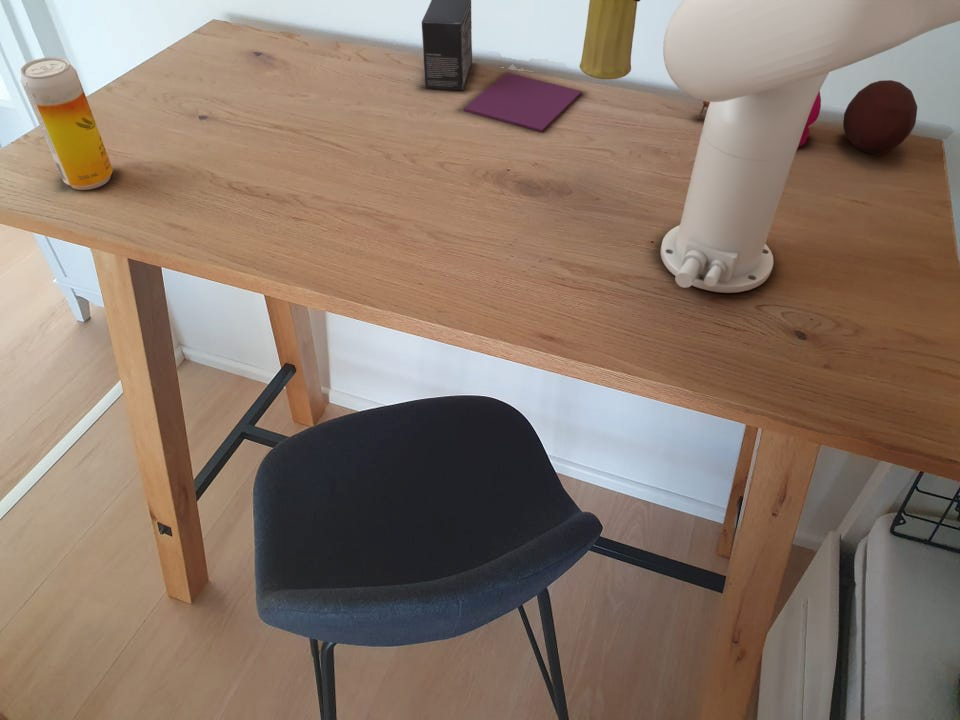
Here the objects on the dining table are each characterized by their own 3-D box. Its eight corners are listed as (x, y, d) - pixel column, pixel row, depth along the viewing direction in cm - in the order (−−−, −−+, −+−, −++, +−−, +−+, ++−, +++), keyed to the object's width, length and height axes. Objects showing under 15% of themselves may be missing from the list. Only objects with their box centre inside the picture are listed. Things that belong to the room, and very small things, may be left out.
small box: (434, 60, 127) (431, -7, 119) (473, 62, 126) (473, -4, 119) (422, 88, 119) (419, 19, 112) (464, 91, 119) (463, 22, 111)
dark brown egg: (893, 131, 111) (920, 69, 104) (906, 174, 103) (936, 109, 96) (831, 124, 112) (853, 61, 106) (838, 165, 104) (863, 100, 97)
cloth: (542, 132, 110) (542, 129, 109) (463, 110, 114) (463, 108, 114) (581, 93, 118) (581, 91, 118) (507, 75, 123) (507, 72, 123)
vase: (635, 62, 93) (655, -68, 83) (625, 83, 88) (645, -51, 78) (586, 55, 94) (599, -74, 84) (573, 75, 90) (586, -58, 80)
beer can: (123, 179, 100) (82, 66, 89) (78, 197, 97) (30, 83, 86) (100, 162, 103) (58, 51, 92) (56, 179, 99) (7, 66, 89)
